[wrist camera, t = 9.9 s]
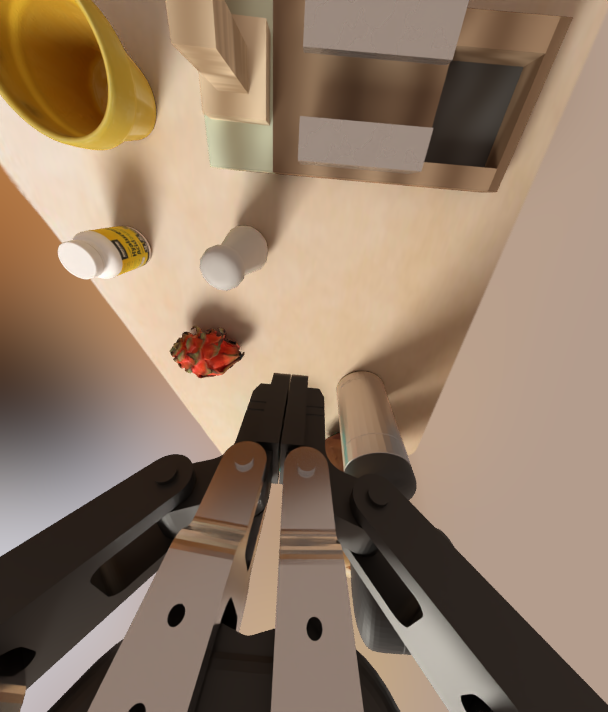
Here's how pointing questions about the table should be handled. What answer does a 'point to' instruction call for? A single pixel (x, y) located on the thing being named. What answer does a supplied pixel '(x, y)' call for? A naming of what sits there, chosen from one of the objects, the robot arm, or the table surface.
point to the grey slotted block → (385, 42)
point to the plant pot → (72, 74)
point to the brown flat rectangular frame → (399, 98)
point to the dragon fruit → (205, 353)
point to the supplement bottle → (105, 252)
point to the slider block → (225, 58)
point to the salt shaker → (234, 258)
